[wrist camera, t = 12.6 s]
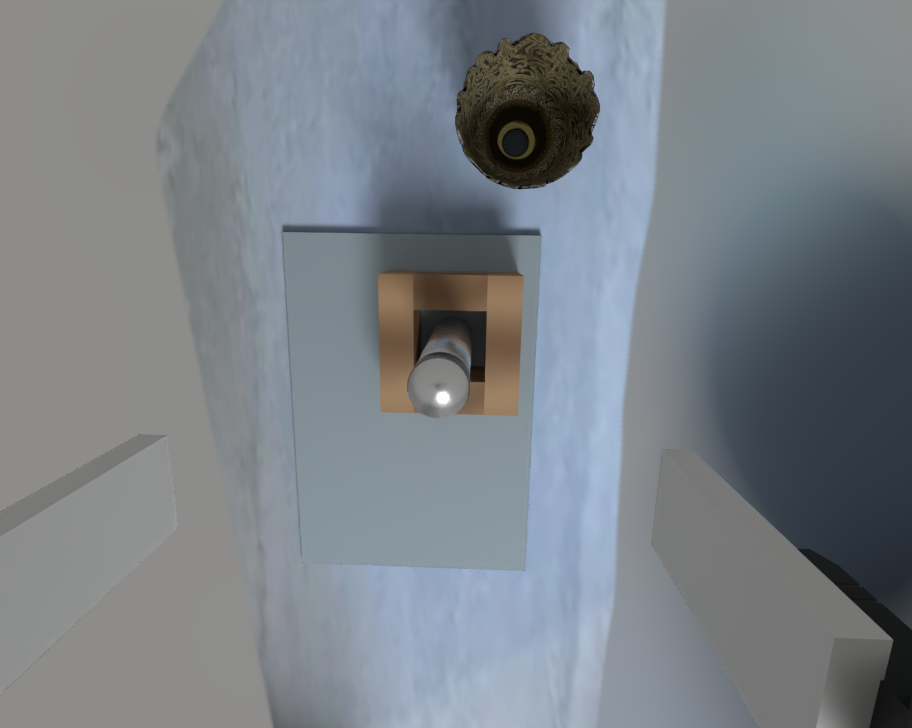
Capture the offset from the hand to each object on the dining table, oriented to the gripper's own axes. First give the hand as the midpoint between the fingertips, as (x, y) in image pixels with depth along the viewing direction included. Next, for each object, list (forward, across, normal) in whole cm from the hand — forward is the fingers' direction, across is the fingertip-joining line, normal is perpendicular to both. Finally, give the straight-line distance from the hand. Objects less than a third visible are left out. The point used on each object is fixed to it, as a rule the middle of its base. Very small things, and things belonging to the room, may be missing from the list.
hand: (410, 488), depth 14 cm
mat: (+24, +3, +6) cm, 25 cm away
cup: (+25, -4, -13) cm, 28 cm away
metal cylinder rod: (+24, 0, 0) cm, 24 cm away
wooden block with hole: (+24, 0, 0) cm, 24 cm away
